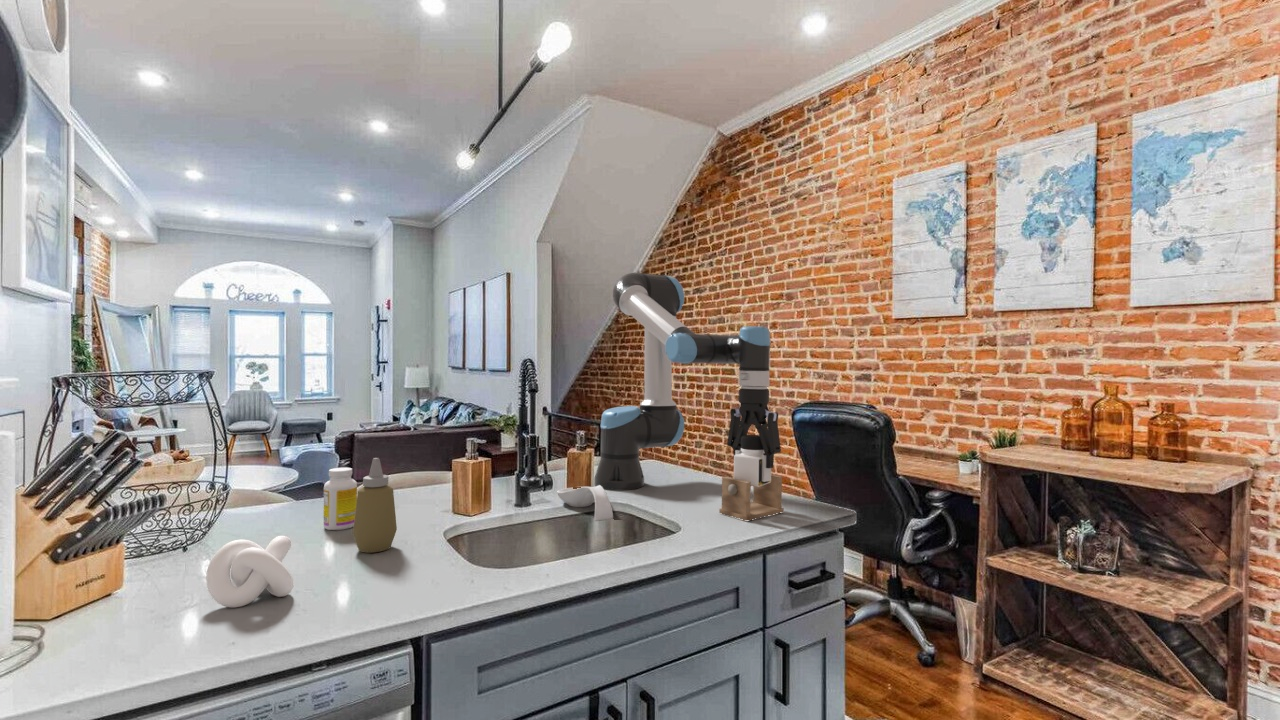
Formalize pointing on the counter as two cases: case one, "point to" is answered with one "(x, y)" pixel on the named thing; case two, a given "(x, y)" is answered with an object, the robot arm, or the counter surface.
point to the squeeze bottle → (375, 512)
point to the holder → (739, 497)
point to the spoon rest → (588, 500)
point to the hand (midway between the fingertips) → (752, 477)
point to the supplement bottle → (340, 499)
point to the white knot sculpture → (248, 571)
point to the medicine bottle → (750, 461)
